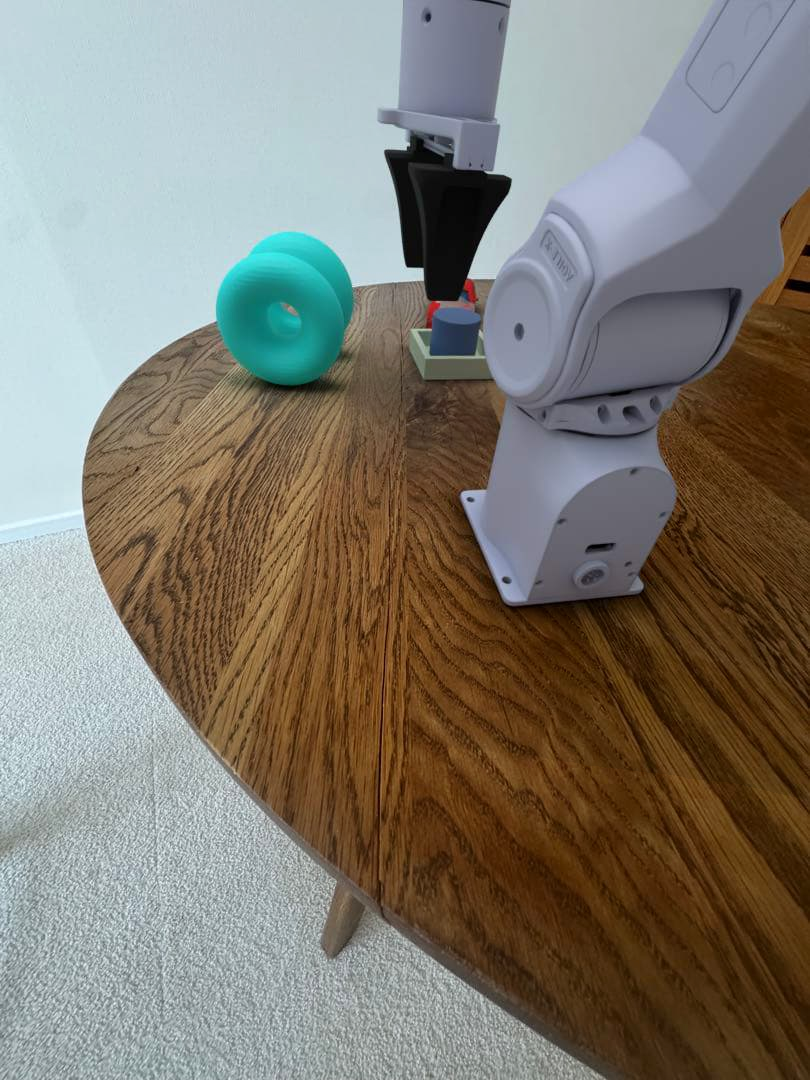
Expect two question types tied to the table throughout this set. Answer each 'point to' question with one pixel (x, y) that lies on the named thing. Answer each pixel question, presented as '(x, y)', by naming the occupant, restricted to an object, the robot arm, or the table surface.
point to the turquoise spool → (268, 327)
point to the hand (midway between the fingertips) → (429, 282)
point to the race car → (455, 302)
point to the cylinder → (454, 332)
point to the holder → (447, 360)
